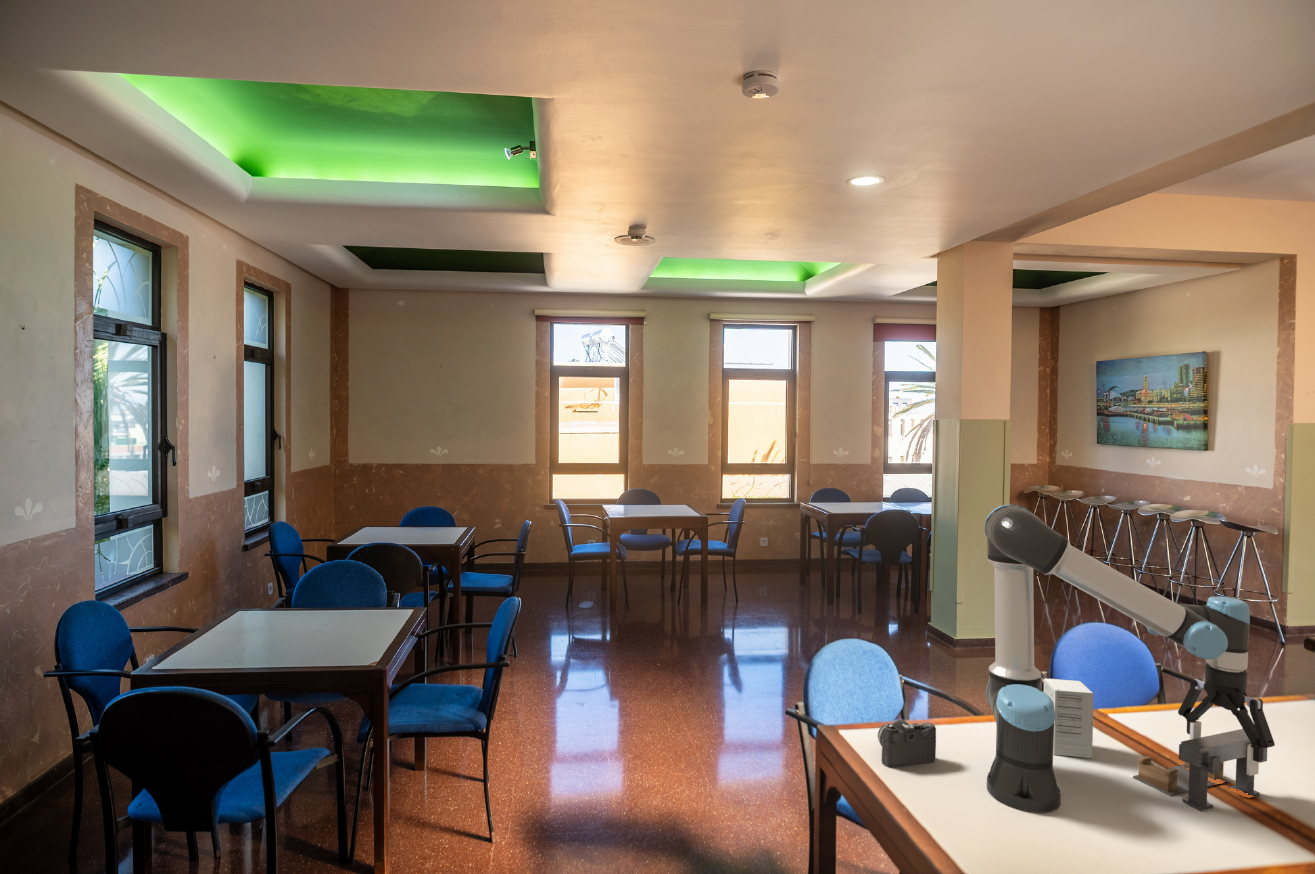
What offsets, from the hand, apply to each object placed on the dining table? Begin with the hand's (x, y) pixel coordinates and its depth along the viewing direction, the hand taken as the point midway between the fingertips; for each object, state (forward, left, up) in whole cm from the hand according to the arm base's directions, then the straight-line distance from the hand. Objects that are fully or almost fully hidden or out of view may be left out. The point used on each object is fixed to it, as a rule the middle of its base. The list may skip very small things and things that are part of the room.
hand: (1222, 761), depth 163 cm
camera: (-56, +40, -9) cm, 70 cm away
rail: (0, 0, +1) cm, 1 cm away
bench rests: (0, +9, -9) cm, 12 cm away
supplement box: (-12, +30, -9) cm, 34 cm away
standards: (0, 0, -9) cm, 9 cm away
